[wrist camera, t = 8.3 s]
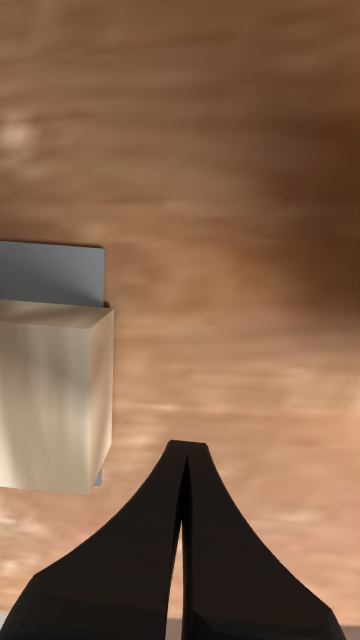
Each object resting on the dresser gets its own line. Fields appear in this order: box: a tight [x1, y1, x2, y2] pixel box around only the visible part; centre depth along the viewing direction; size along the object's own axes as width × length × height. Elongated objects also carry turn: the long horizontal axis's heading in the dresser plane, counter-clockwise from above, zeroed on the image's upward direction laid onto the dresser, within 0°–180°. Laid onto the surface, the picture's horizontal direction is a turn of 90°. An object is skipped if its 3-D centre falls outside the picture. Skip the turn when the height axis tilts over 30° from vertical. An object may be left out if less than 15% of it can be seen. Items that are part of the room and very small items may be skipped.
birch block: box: [0, 299, 114, 496], centre depth 17 cm, size 4×8×9 cm
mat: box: [0, 241, 105, 486], centre depth 19 cm, size 10×14×1 cm
